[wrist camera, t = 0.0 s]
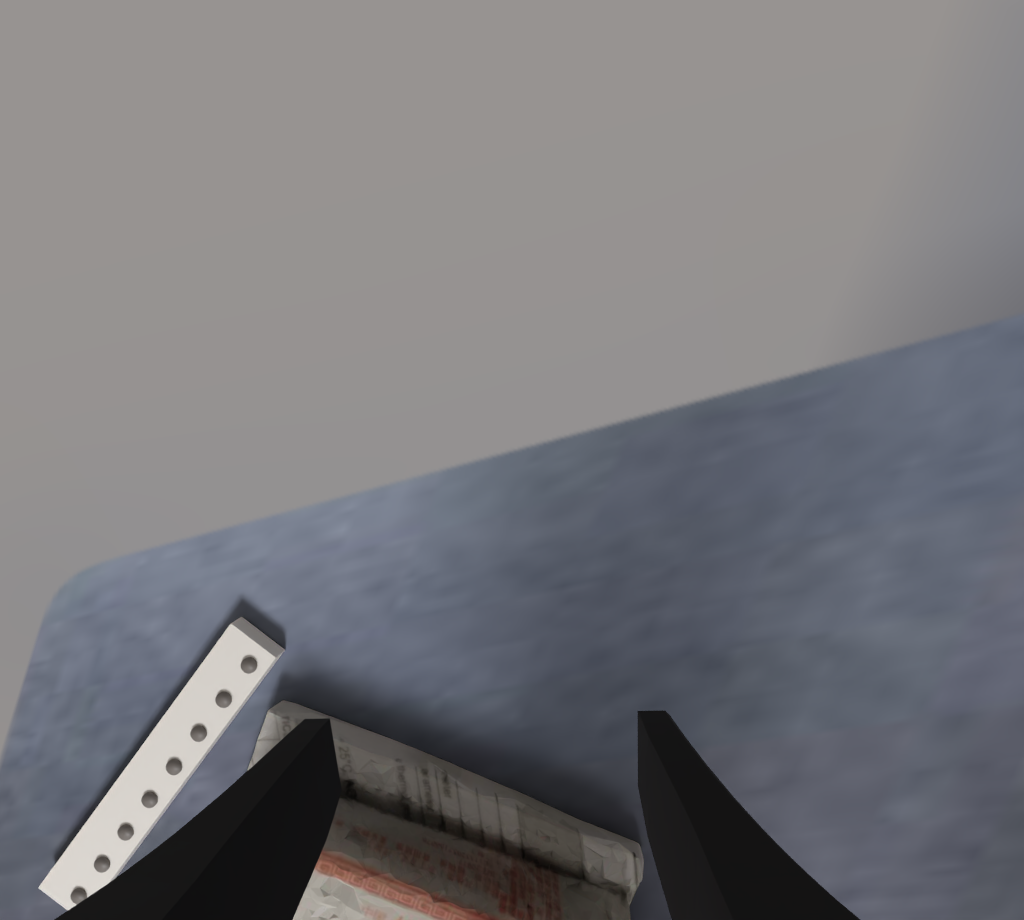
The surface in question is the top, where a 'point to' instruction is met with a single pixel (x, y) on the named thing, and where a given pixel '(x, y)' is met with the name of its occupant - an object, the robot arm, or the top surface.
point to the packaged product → (450, 842)
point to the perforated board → (163, 763)
